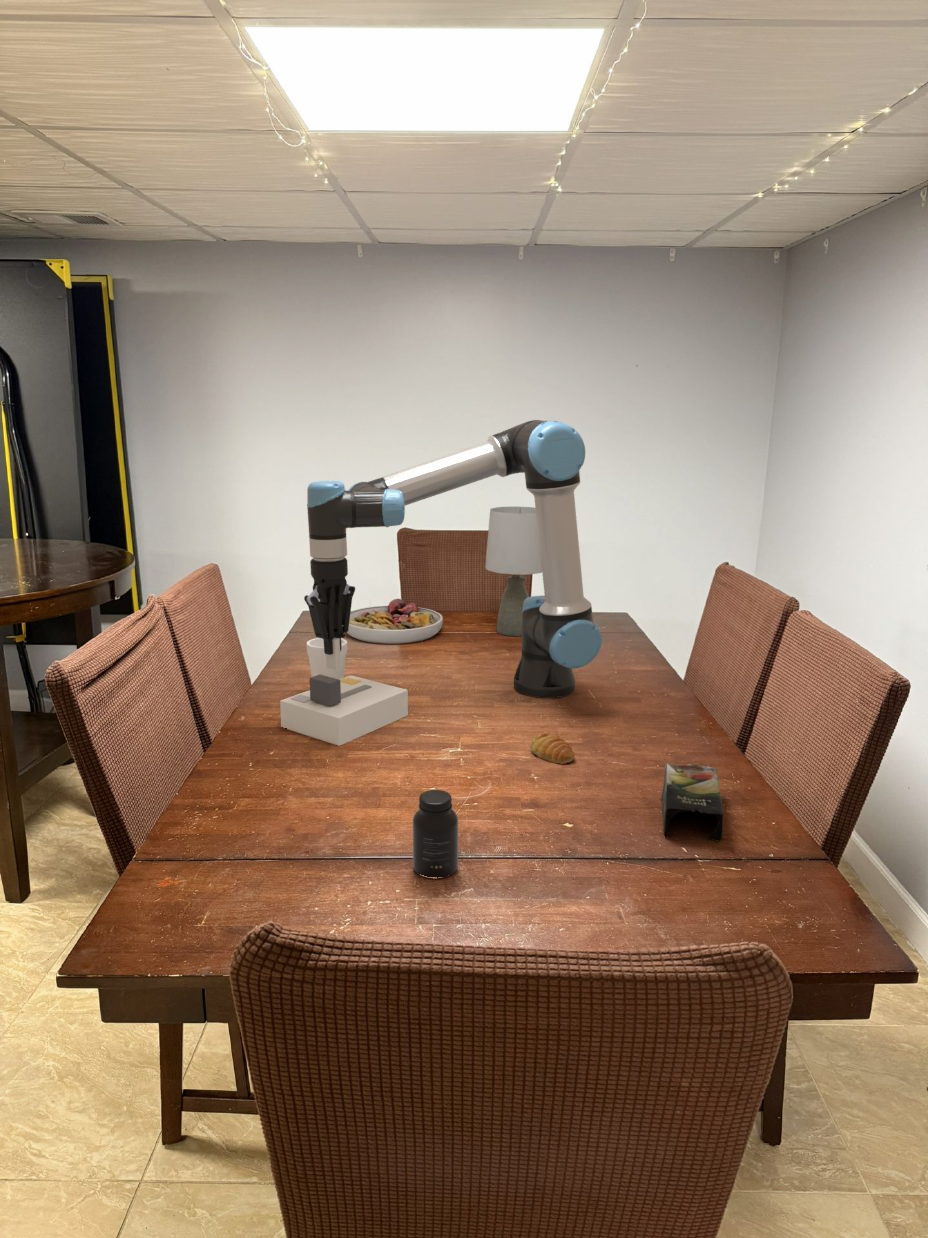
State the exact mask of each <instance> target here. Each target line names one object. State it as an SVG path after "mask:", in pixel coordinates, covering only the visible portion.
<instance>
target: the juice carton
mask: <svg viewBox="0 0 928 1238" xmlns="http://www.w3.org/2000/svg"><path fill="white" fill-rule="evenodd" d="M720 786H721V785H720V778H719V776H718V771H717V768H715V767H710V766H704V765H703V766H700V765H698V764H690V763H689V764H671V763H665V766H664V774H663V786H662V790H661V794H660V795H661V796H660V798H661V813H662V814H661V815H662V817H661V818H662V832H663V833H662V835H663V837H664V836H665V837H667V831H668V830H669V829H668V828H669V826H670V823H671V820H672V818H673V817H674V816H675V815H677V814H678V813H684V812H692V813H694V812H695V813H696V811H697V812H699V813H700V815H706V814H708V815H714V816H715V817H716V820H717V819H718V820H717V825H716V827H715V829H714V831H712V832H711V833H710V834H708V836H707V839H710V840H712V839H714V840H713V841H716V840H718V842H721V841H722V840H723V837H724V836H723V835H724V834H723V833H724V806H723V801H722V800H723V799H722V796H721V792H720V791H721V790H720Z"/></svg>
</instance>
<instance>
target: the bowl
mask: <svg viewBox="0 0 928 1238" xmlns="http://www.w3.org/2000/svg"><path fill="white" fill-rule="evenodd" d="M443 622H444V619H443V615H442V614H441V613H440V612H437V611H435V610H432V609H429V608H424V607H419V606H418V604H417V603H415V602H410V603H408V604H406V603H405V601H404V600H403V599H401V598H394V599H393V600H391V601H390V602H389V603H388V605H378V606H368V607H362V608H357V609H354V610H351V612H350V620H349V628H348V632H346V633H347V635H349V636H350V637H352V638H354V639H357V640H360V641H363V642H367V643H373V644H382V645H383V644H384V645H397V644H398V645H399V644H401V645H402V644H411V643H416V642H421V641H425V640H427V639H429V638H432V637H434V636H436V635H437V634H438V633H439V631H440V630H441V628H442V627H443Z"/></svg>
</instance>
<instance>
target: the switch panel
mask: <svg viewBox="0 0 928 1238" xmlns="http://www.w3.org/2000/svg"><path fill="white" fill-rule="evenodd" d="M339 680H340V685H341V703H338V704H336V705H333V706H328V705H325V704H321V703H318V702H314V701H311V700H310V689H309V690H306V691H303V692H300V693H298V694H295V695H292V696H289V697H286V698H284V699H281V700H279V705H280V706H279V707H280V710H279V711H280V727H281V728H282V727H283V729H285V728H287V729H286V730H288V731H292V732H295V733H298V734H301V735H304V736H307V737H310V738H314V739H317V740H320V741H322V742H326V743H329V744H332V745H335V746H338V747H340V746H342V745H345V744H347V743H349V742H351V741H354V740H356V739H358V738H360V737H363V736H365V735H367V734H369V733H372V732H375V731H376V730H378V729H380V728H383V727H385V726H387V725H389V724H392V723H395V722H396V721H398V720H401V719H404V718H405V717H408V715H409V699H408V698H409V695H408V694H409V690H408V689H405V688H401V687H398V686H393V685H391V684H387V683H382V682H378V681H374V680H371V679H367V678H362V677H360V676H359V677H358V676H356V675H352V674H350V675H348V676H344V678H342V679H339Z"/></svg>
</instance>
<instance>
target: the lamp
mask: <svg viewBox="0 0 928 1238" xmlns="http://www.w3.org/2000/svg"><path fill="white" fill-rule="evenodd" d="M488 519H489V520H488V530H487V544H486V555H485V567H484V568H485V570H487V571H489V572H492V573H495V574H496V573H497V574H502V575H510V576H507V577H505V579H506V583H507V585H506V587H505V589H504V591H503V594H502V596H501V599H500V605H499V609H498V615H497V620H496V621H497V622H496V632H497V633H498V634H499V635H503V636H508V637H522V617H523V613H522V610H523V603H524V600H525V599H526V598H528V597H530V596H529V593H528V590H527V588H526V585H525V582H526V581H527V578H526V577H524V576H525V575H526V576H527V575H535V574H541V573H542V564H541V555H540V546H539V536H538V527H537V517H536V508H535V507H530V506H497V507H492V508H490V510H489V518H488ZM522 575H523V576H522Z"/></svg>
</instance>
